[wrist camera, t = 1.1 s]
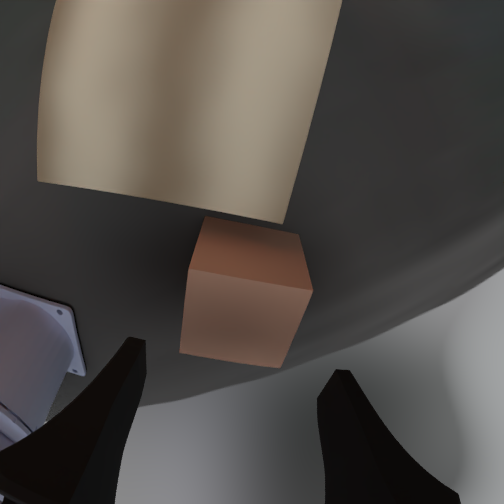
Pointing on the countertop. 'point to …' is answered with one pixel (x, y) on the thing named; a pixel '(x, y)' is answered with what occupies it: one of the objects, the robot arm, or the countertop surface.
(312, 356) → the countertop surface
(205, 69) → the pedestal
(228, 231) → the cube
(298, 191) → the countertop surface
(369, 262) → the countertop surface
